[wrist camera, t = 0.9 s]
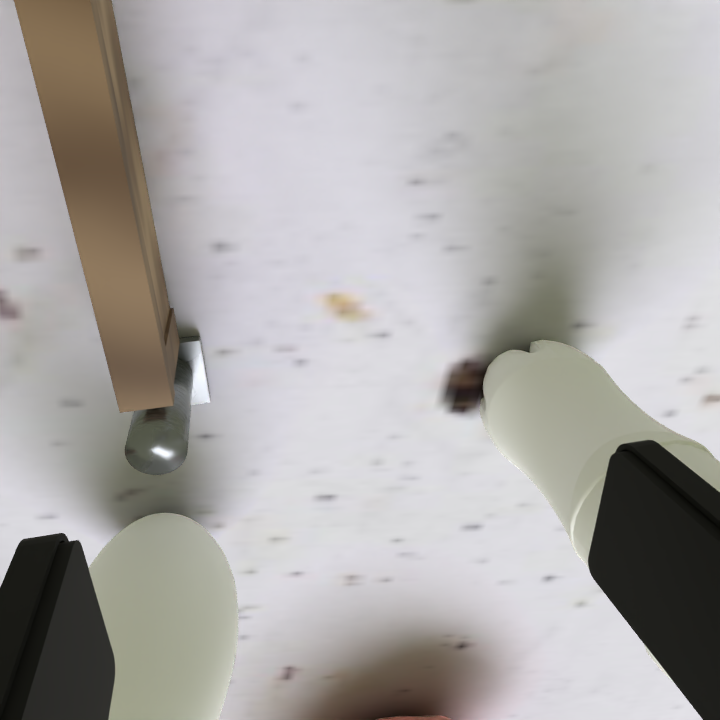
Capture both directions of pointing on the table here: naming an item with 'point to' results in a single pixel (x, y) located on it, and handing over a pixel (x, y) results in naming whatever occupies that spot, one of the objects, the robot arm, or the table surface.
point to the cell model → (416, 718)
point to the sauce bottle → (167, 619)
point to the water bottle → (571, 430)
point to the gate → (105, 191)
